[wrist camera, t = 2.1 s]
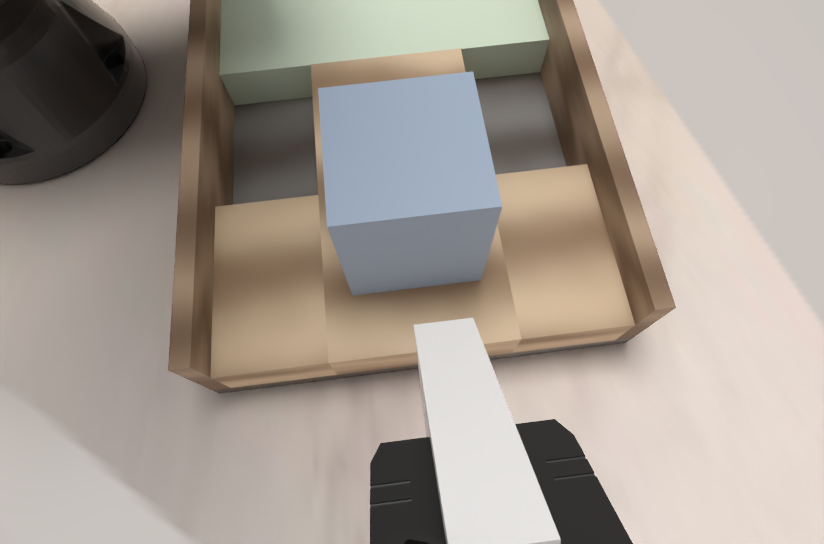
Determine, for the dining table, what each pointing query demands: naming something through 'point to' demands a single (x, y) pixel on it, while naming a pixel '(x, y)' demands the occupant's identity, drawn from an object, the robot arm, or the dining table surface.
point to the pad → (369, 39)
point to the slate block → (408, 182)
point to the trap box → (402, 309)
